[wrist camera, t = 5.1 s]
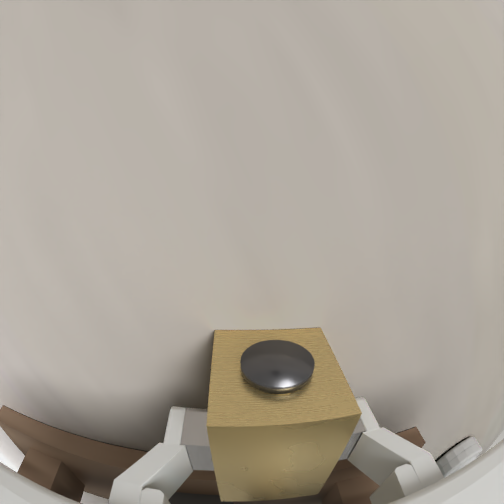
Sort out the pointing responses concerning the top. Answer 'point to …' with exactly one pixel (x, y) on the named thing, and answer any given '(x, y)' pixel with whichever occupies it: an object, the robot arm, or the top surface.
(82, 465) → the shaft bench
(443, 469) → the electronic device
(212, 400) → the block
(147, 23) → the top surface
